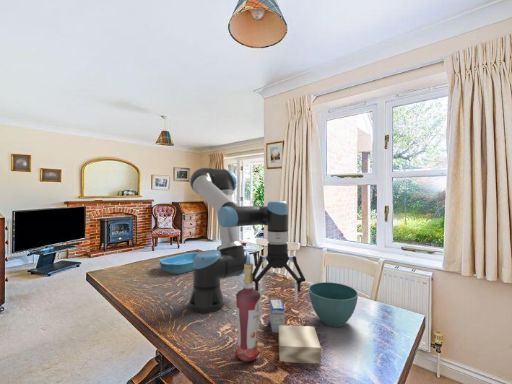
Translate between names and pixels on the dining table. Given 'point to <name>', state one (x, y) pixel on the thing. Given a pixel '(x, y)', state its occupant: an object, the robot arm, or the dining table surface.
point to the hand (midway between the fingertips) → (277, 300)
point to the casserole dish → (178, 263)
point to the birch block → (299, 344)
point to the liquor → (247, 317)
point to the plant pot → (333, 302)
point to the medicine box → (276, 314)
